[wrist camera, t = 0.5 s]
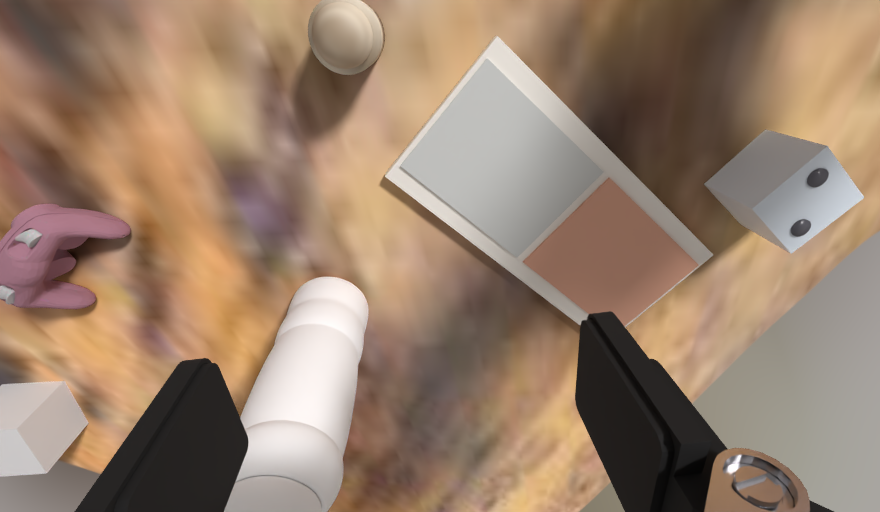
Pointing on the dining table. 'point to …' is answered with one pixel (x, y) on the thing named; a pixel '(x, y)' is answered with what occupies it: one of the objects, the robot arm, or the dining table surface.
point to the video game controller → (50, 255)
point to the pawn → (345, 35)
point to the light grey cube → (36, 426)
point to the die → (784, 188)
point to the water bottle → (303, 403)
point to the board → (544, 194)
